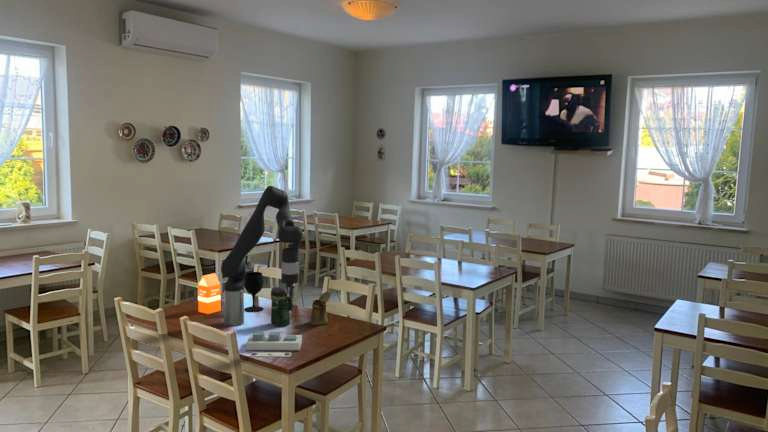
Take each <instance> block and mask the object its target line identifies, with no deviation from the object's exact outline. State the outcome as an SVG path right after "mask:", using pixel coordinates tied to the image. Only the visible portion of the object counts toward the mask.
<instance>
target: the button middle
mask: <svg viewBox="0 0 768 432" xmlns="http://www.w3.org/2000/svg"><path fill="white" fill-rule="evenodd" d="M268 335H269V341H280V335H281V331H270V332H269V333H268Z"/></svg>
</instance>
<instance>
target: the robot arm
mask: <svg viewBox="0 0 768 432" xmlns="http://www.w3.org/2000/svg"><path fill="white" fill-rule="evenodd" d="M267 207H272V208H274V209H277V210H278V211H277V213H276V215H275V221H276V223H277V227H278V231H277V238H278V240H279V242H280V243H283V244H284V243H285V244H288V243H291V244H292V245H290V246H287V247H284V248H282V251H281V271H280V272H281V274H280V275H281V277H280V279H281V283H282V284H286V286H285V287H284V289H285V292H286V293H285V296H286V302H287V310H288V311H290V312H292V311H293V308H294V307H293V306H294V304H293V303H294V298H295V297H294V296H295V290H296V286H295V284H298V283H299V281H300V280H299V279H300V277H299V276H300V264H299V251H300V247H301V243H302V239H303V233H304V232H303V229H302V228H301V227H300V226H298V225H295V221H294V219H293V216H292V214H291V210H290V209H291V208H290V202H289V195H288V193H287V192H286V191H285V190H282V189H280V188H278V187H276V186H273V185H268V186H267V187H266V188H265V189H264V191H263V193H262V194H261V197H260V198H259V201H258V203H257V205H256V207H255V209H254V210H253V213H252V214H251V216H250V218H249V220H248V221H247V222H246V224H245V226H244V228H243V229H242V231H241V233H240V235H239V237H238V239H236V240H237V241H236V242H235V244H234V245H233V248H232V250H230V252H229V254H228V255H227V256H226V257H225V259H224V260H223V261H222V263H221V265H220V271H221V272H220V273H221V274H222V275H223V276H224V277H225V278H227V281H226V282H225V284H224V291H223V293H224V305H223V325H224V326H231V327H232V326H233V327H234V326H235V327H236V326H241V325H243V324H244V323H245V311H244V309H245V305H244V304H245V300H244V295H245V294H244V293H245V292H244V289H245V287H244V284H245V273H246V263H245V260H244V259H245V258H246V256H247V255H248V254H249V253H250V252H251V251H252V250H253V249H254V248H255V247H256V246H257V245H258V244H259V242H260V240H261V239H262V237H263V235H264V233H265V230H266V228H265V226H266V225H265V211H266V210H267V209H266V208H267Z"/></svg>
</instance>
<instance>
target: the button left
mask: <svg viewBox="0 0 768 432" xmlns="http://www.w3.org/2000/svg"><path fill="white" fill-rule="evenodd" d="M252 335H253V341H264V339H265V338H264V335H265V331H254V332H253V333H252Z"/></svg>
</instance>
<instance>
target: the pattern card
mask: <svg viewBox="0 0 768 432" xmlns="http://www.w3.org/2000/svg"><path fill="white" fill-rule="evenodd" d="M291 356H292V352H286V351H274V352H273V351H251V353H250V354H249V357H250V358H256V357H257V358H261V357H262V358H268V357H269V358H273V357H274V358H280V357H281V358H290V357H291Z"/></svg>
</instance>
